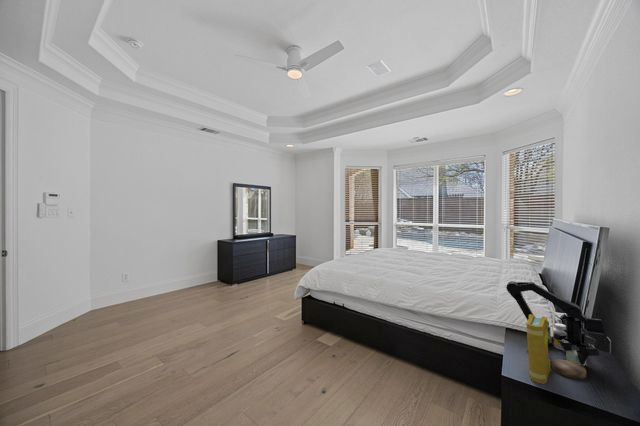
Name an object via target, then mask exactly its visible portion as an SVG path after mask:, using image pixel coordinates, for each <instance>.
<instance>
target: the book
mask: <svg viewBox="0 0 640 426" xmlns="http://www.w3.org/2000/svg"><path fill="white" fill-rule="evenodd" d="M528 317H529V319H528V320H527V322H526V338H527V340H526V341H527V350H528V351H527V352H528V353H527V354H528V366H529V367H528V368H529V379H530V378H531V379H532V380H533V382H534V381H535V382H534V383H537V384H540V383H541V384H540V385H545V384H547V383H548V382H547V381H548V377H549V374H550V373H551V371H552V370H551V369H552V365H551V359H550V358H549V344H548V329H547V328H548V322H549V321H548V317H547V316H541V318H540V317H536V316H535V314H533V315H531V314H529V316H528ZM547 321H548V322H547ZM531 379H530V380H531ZM532 380H531V381H532ZM544 383H545V384H544Z"/></svg>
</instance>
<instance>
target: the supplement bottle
mask: <svg viewBox="0 0 640 426" xmlns="http://www.w3.org/2000/svg"><path fill="white" fill-rule="evenodd" d="M564 330H566V324H562V323H558V322H557V323H554V327H553V328H552V337H553V346H554V348H556V349H558V350H561V351H565V350H564V349H563V347H562V346H561V344H560V343H559V342H558V341H560V340H556V339H554V334H555V333H565V334H567V333H566V332H564Z"/></svg>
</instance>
